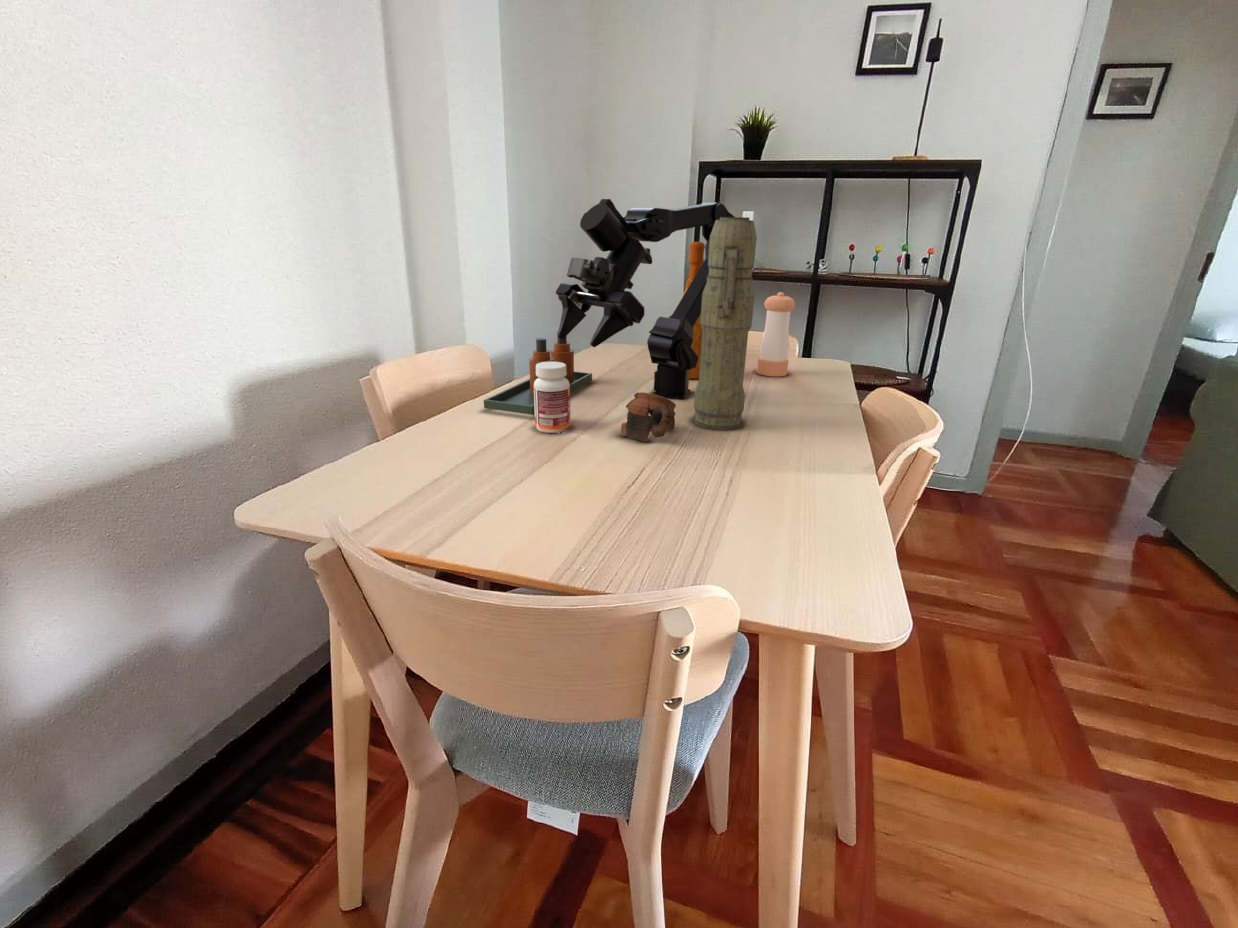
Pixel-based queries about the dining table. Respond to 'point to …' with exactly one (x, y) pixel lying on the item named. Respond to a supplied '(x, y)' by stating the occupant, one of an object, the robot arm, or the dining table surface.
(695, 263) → the wine bottle
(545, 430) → the pill bottle
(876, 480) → the dining table surface
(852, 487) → the dining table surface
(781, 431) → the dining table surface
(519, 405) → the tray
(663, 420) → the brown rough arched piece
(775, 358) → the pepper shaker
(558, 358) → the amber bottle end
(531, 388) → the amber bottle middle
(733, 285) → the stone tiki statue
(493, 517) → the dining table surface
